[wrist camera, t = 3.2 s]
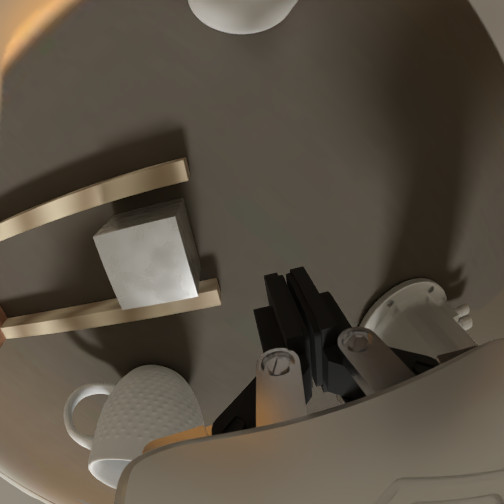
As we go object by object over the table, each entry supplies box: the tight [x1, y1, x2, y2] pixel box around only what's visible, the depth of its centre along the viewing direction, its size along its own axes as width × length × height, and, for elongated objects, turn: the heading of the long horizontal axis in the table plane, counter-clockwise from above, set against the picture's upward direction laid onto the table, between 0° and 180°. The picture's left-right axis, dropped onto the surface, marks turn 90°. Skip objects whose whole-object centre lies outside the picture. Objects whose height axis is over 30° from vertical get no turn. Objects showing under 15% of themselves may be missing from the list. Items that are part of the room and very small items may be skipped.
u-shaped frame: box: [0, 157, 221, 347], centre depth 22 cm, size 28×12×4 cm, turn 100°
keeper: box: [93, 198, 201, 310], centre depth 22 cm, size 6×6×5 cm
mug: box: [64, 365, 204, 489], centre depth 24 cm, size 15×11×13 cm
